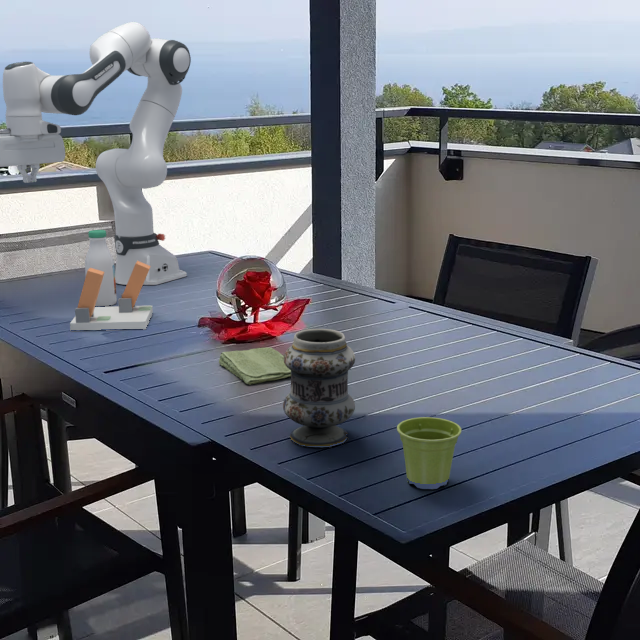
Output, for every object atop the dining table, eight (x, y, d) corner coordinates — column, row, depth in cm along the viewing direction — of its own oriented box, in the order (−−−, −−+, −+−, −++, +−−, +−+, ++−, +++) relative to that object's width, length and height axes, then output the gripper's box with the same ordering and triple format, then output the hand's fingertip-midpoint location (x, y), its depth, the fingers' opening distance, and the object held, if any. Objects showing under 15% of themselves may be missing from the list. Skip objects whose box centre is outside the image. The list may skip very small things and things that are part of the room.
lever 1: (78, 311, 223) (90, 267, 221) (92, 316, 224) (104, 271, 221) (74, 316, 219) (87, 270, 217) (89, 320, 220) (102, 275, 217)
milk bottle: (113, 307, 242) (108, 233, 236) (84, 307, 242) (78, 233, 237) (120, 300, 249) (115, 228, 244) (92, 300, 249) (86, 228, 244)
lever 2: (120, 301, 233) (137, 260, 230) (133, 306, 233) (150, 265, 231) (118, 305, 229) (135, 263, 226) (131, 310, 229) (149, 269, 227)
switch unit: (82, 314, 234) (80, 294, 233) (152, 313, 235) (151, 292, 234) (70, 331, 219) (68, 309, 217) (145, 329, 220) (144, 307, 219)
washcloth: (246, 389, 178) (246, 373, 178) (215, 365, 194) (214, 350, 193) (306, 379, 184) (306, 363, 183) (271, 356, 199) (271, 342, 199)
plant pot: (396, 468, 141) (397, 415, 138) (457, 470, 140) (459, 417, 138) (395, 495, 132) (396, 439, 129) (461, 497, 131) (463, 441, 129)
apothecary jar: (359, 450, 148) (359, 343, 143) (285, 453, 147) (283, 346, 142) (350, 423, 159) (350, 324, 155) (282, 425, 158) (280, 326, 154)
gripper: (-7, 130, 223) (-2, 186, 226) (66, 126, 237) (70, 179, 241) (-20, 129, 227) (-14, 185, 230) (53, 125, 241) (57, 178, 245)
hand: (30, 182), depth 236 cm, fingers closed
